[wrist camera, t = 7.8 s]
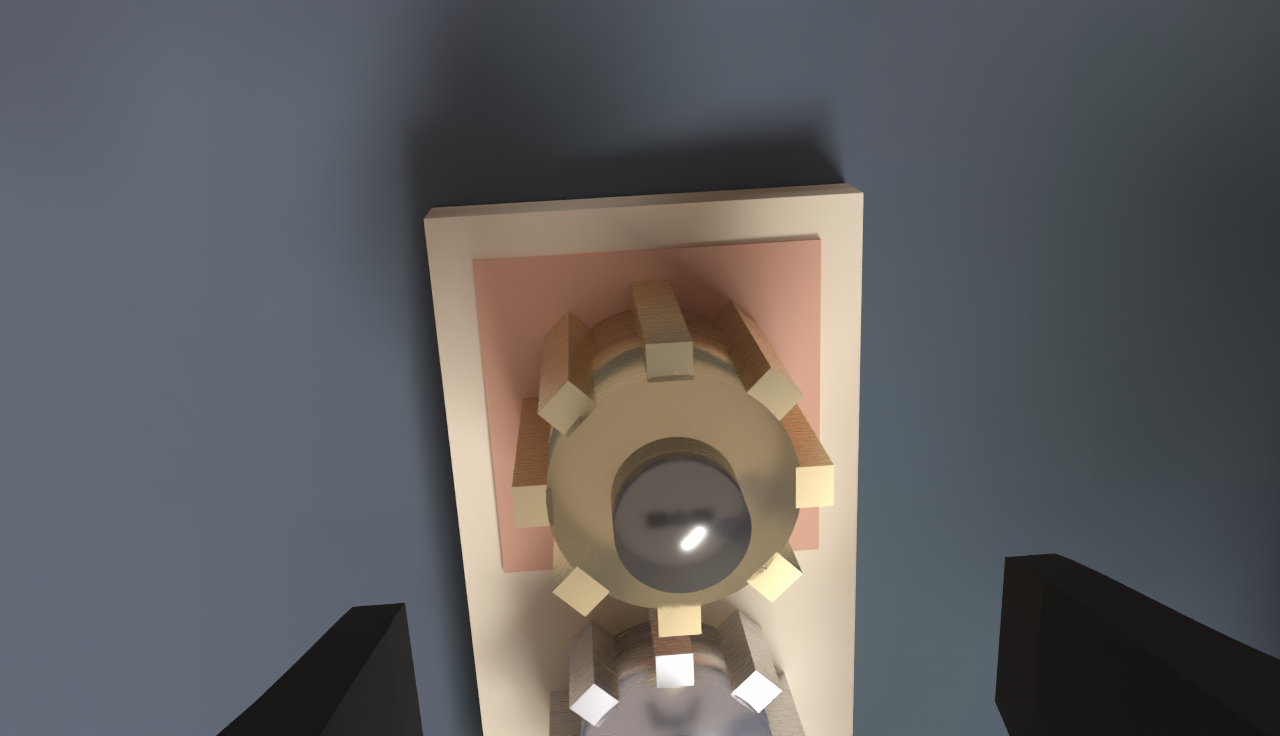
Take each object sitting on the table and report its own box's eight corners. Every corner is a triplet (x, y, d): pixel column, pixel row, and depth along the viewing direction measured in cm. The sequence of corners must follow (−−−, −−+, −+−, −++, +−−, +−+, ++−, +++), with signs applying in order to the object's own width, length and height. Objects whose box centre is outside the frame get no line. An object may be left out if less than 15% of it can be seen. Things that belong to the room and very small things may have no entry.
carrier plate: (846, 183, 20) (865, 193, 19) (838, 741, 24) (852, 779, 23) (432, 207, 20) (422, 220, 18) (495, 769, 24) (491, 810, 23)
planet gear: (782, 272, 19) (857, 357, 14) (783, 514, 21) (850, 666, 16) (513, 288, 19) (493, 380, 14) (534, 532, 20) (523, 693, 16)
